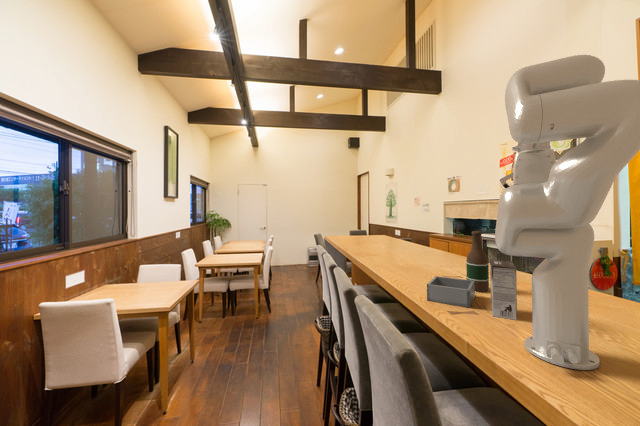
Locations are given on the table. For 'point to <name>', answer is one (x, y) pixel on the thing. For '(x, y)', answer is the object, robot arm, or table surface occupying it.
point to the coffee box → (503, 289)
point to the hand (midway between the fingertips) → (534, 204)
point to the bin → (451, 291)
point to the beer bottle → (478, 264)
